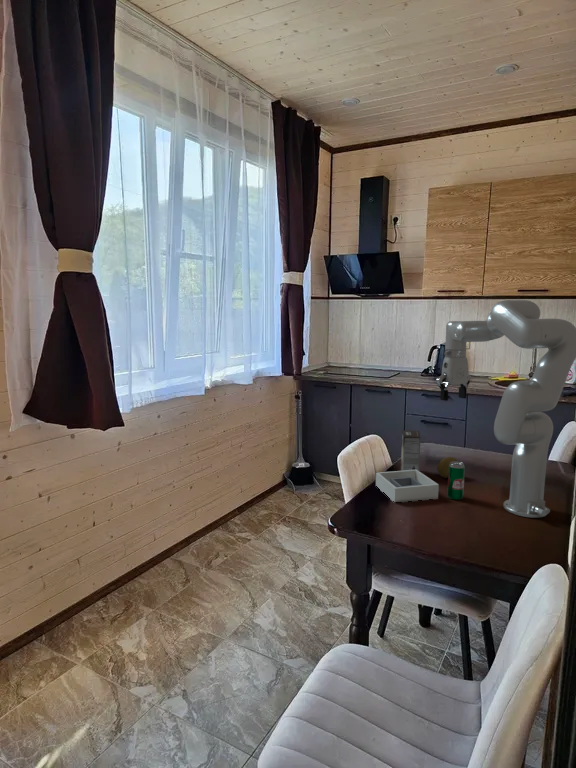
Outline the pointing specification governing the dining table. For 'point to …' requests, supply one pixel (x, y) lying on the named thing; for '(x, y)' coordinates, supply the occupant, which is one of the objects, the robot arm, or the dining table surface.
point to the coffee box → (410, 450)
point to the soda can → (456, 480)
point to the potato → (445, 466)
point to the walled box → (407, 485)
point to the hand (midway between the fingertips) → (453, 399)
